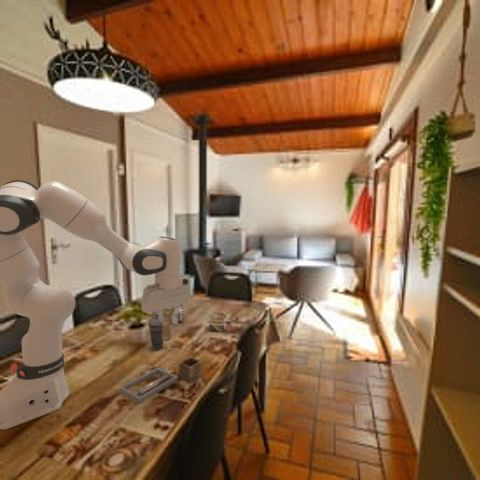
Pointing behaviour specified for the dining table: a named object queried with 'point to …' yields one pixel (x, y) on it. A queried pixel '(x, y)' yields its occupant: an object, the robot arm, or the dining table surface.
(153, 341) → the beverage cup
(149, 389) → the metal rod
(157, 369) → the tray
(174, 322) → the toy llama
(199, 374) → the pen pot
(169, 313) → the dowel
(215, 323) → the platform
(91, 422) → the dining table surface
